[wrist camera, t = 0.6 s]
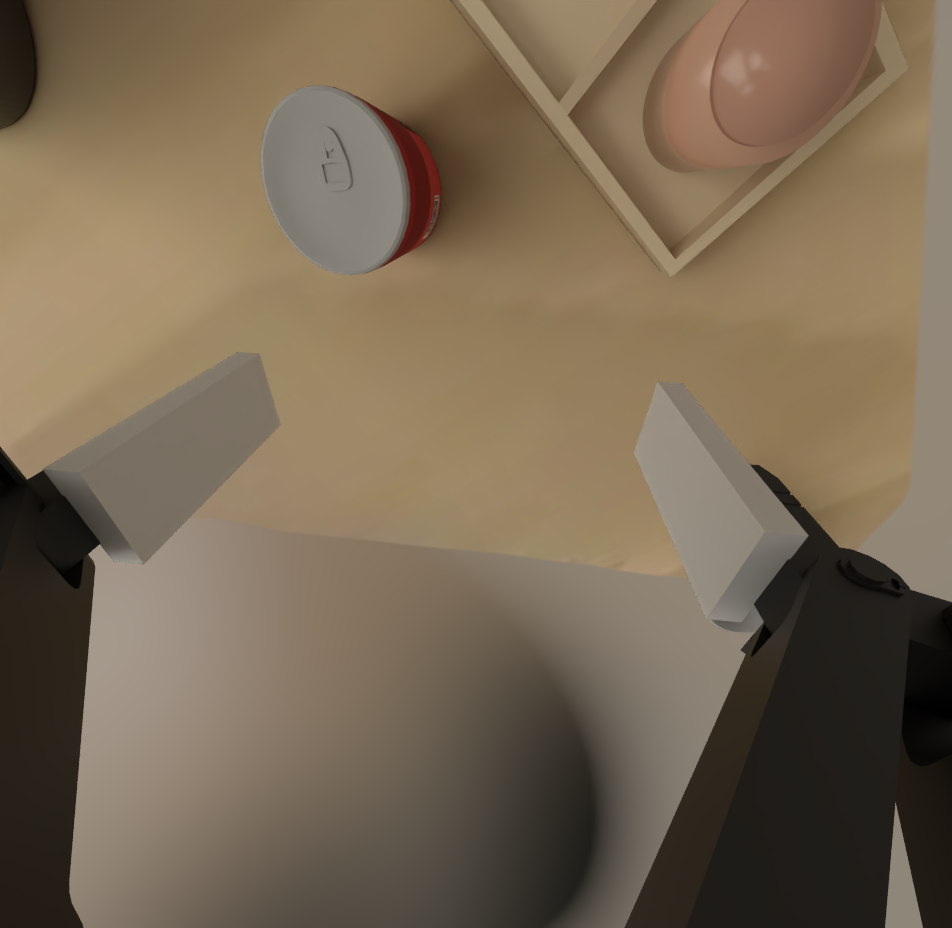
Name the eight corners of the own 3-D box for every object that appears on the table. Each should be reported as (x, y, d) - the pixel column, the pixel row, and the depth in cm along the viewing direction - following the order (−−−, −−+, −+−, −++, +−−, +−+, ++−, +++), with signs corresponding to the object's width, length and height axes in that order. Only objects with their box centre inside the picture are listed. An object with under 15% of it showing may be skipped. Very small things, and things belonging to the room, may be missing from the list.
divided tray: (399, -66, 22) (384, -98, 19) (606, -505, 15) (622, -639, 13) (659, 270, 30) (671, 277, 28) (868, 81, 23) (909, 68, 21)
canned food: (419, 99, 26) (364, 50, 17) (458, 233, 30) (431, 251, 21) (321, 145, 28) (224, 123, 19) (370, 265, 32) (311, 294, 23)
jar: (619, 108, 25) (666, 69, 17) (728, -21, 21) (852, -149, 13) (682, 198, 27) (749, 202, 19) (789, 95, 24) (925, 45, 16)
